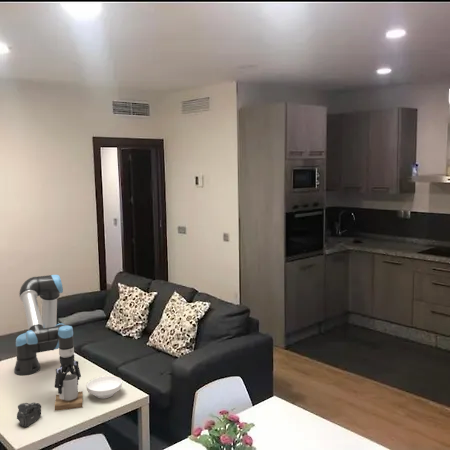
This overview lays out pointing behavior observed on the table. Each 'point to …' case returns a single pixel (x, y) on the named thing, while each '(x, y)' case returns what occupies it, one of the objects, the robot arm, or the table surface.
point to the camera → (28, 413)
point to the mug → (70, 387)
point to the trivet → (68, 402)
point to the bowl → (104, 386)
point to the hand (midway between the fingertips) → (68, 395)
